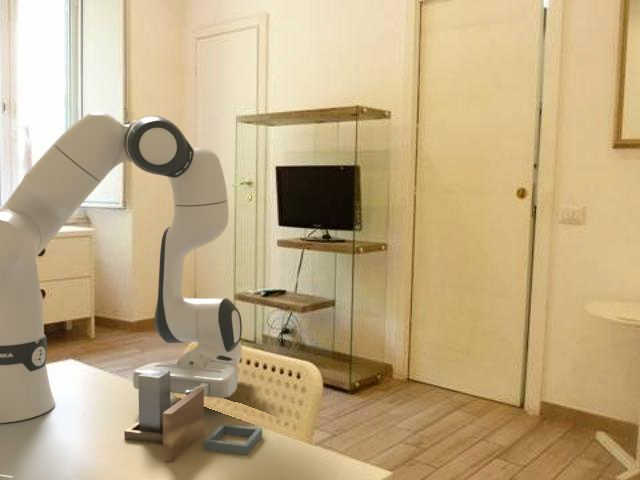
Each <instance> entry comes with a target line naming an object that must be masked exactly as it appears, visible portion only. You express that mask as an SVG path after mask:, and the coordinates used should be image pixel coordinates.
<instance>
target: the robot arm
mask: <svg viewBox="0 0 640 480" xmlns="http://www.w3.org/2000/svg"><path fill="white" fill-rule="evenodd" d="M125 162H131V163H132V164H133V166H135V167H137V168H138V169H141V171H144V172H146V173H149V174H153V175H157V176H158V175H159V176H164V177H167V178H168V180H169V182H170V184H171V188H172V194H173V195H172V196H173V207H174V209H173V218H172V221H171V224H170V226H168V227H167V228H165V229H164V231H163V234H162V236H161V245H160V254H159V265H158V266H159V269H158V270H159V271H158V286H157V287H158V288H157V302H156V307H155V313H154V317H153V320H154V321H153V325H154V330H155V331H156V333H157V334H158V336H159V337H160V338H161V339H162V340H163V341H164V342H166V344H183V343H184V344H185V343H198V344H197V346H196V347H194V348H193V349H191V350H189V351H187V352H186V353H184V354H183V355H181V356H180V357H179V358H178V360H177V362H176V363H170V362H160V361H158V362H157V361H155V362H149V363H147V364H144V365H142V366H140V367H137V368H135V369H134V370H133V372H132V386H133V388H134V389H136V390H139V388H138V376H139V375H140V374H142V373H144V372H146V371H147V370H149V369H156V370H166V371H170V394H172V393H173V394H181V395H185V396H187V395H188V394H189V393H191V392H192V391H193V390H195V389H204V397H208V398H209V397H210V398H218V399H226V398H229V397H231V396H232V395H233V394H234V393H235V391H237V389H238V382H239V368H238V364H239V363H240V361H241V359H242V354H243V346H242V343H241V339H242V330H243V326H242V325H243V322H242V316H241V313H240V311H239V310H238V308H237V306H236V305H235V303H234V302H233V301H231V299H229V298H225V297H223V298H222V297H221V298H218V297H202V298H201V297H200V298H199V297H186V296H185V295H184V294H183V292H182V290H183V273H184V272H183V271H184V261H185V258H186V256H187V255H188V254H189V253H190V252H191V251H193V250H196V249H198V248H200V247H203V246H206V245H207V244H209V243H212V242H214V241H215V240H216V239H218V238H219V237H220V236H222V234H223V233H224V231H225V230H226V229H227V226H228V224H229V201H228V193H227V192H228V191H227V186H226V179H225V175H224V172H223V167H222V164H221V160H220V158H219V157H218V155H217V154H216V153H215V152H214V151H212V150H210V149H207V148H203V147H192V146H191V144H190V142H189V141H188V140H187V138H186V137H185V135H184V134H183V132H182V131H181V130H180V128H179V127H178V126H177V125H175V124H174V123H173V122H172V121H171V120H168V119H166V118H165V117H162V116H158V115H157V116H156V115H148V116H144V117H142V118H138V119H135V120H131V121H129V122H126V123H121V122H120V121H118V120H117V119H116V118H115V117H113V116H111V115H110V114H107V113H105V112H101V111H92V112H89V113H87V114H86V115H84V116H82V117H81V118H80V119H79V120H77V121H76V122H75V123H74V124H72V125H71V126H70V127H69V128H68V129H66V131H64V132H63V133H62V134H61V136H59V137H58V138H57V140H56V141H54V142H53V143H52V145H50V147H49V148H48V149H47V150H46V152H44V154H43V155H42V156H41V157H40V158H39V159H38V160H37V161H36V162H35V163H34V165H33V166H32V167H31V168H30V169H29V170H28V171H27V172H26V173H25V175H24V176H23V178H22V180H21V181H20V183H19V184H18V186H17V187H16V188H15V190H13V192H12V194H11V195H10V197H8V199H7V200H6V202H5V203H4V204H2V205H3V206H1V208H0V424H4V423H13V422H14V423H15V422H19V421H24V420H28V419H33V418H34V417H38V416H41V415H43V414H45V413H48V412H49V411H50V410H52V409H53V408H54V407H55V405H56V401H55V398H54V395H53V392H52V389H51V383H50V379H49V374H48V368H47V355H48V345H47V344H48V342H47V341H48V340H47V335H46V334H45V332H44V331H45V328H44V327H45V326H44V299H43V298H44V297H43V294H42V293H43V292H42V290H41V286H40V281H39V279H40V278H39V274H38V266H37V257H38V256H39V255H40V254H41V252H42V251H44V249H45V248H46V247H47V246H48V245H49V243H50V242H51V241H52V240H53V238H54V237H55V236H56V235H57V234H58V232H59V231H60V230H61V229H62V227H63V226H64V225H65V224H66V223H67V222H68V220H69V219H71V217H72V215H73V214H74V213H75V212H76V210H78V208H79V207H80V206H81V205H82V204H83V203H84V202H85V201H86V200H87V198H88V197H90V195H91V194H92V193H93V192H94V191H95V189H96V188H97V187H98V186H99V185H100V184H101V182H102V181H104V179H105V178H106V177H107V176H108V175H109V173H111V171H112V170H114V169H115V168H116V167H118V166H119V165H120V164H122V163H125Z"/></svg>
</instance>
